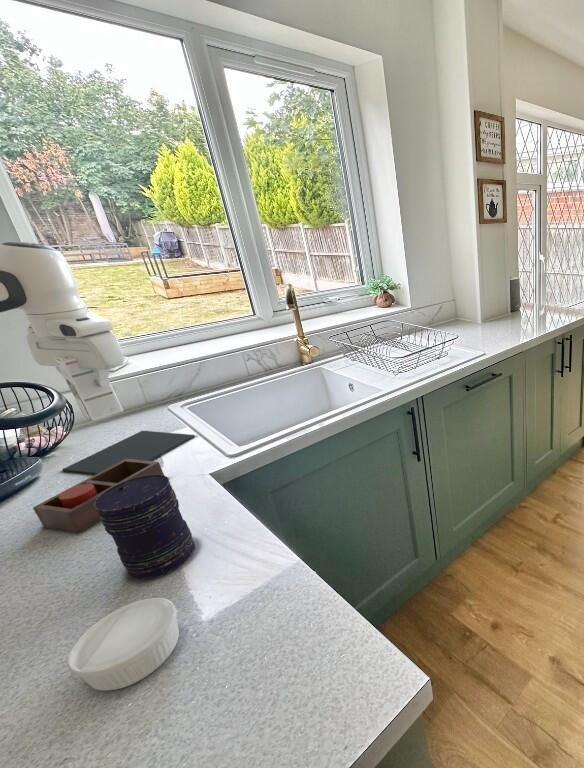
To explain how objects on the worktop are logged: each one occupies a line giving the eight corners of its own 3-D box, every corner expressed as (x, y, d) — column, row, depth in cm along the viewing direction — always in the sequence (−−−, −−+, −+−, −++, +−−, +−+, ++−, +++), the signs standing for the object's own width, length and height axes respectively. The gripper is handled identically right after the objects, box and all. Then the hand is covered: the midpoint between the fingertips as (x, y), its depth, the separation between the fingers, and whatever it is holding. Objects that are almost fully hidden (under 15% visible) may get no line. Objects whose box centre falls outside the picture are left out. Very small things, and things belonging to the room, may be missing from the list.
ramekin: (83, 657, 58) (67, 632, 56) (180, 608, 66) (168, 583, 64) (84, 721, 51) (65, 693, 49) (193, 657, 58) (180, 631, 56)
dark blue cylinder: (209, 544, 78) (183, 478, 73) (155, 586, 70) (121, 515, 64) (170, 535, 81) (142, 470, 75) (113, 574, 72) (77, 505, 66)
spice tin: (64, 521, 85) (51, 497, 83) (92, 505, 90) (80, 482, 88) (84, 524, 84) (71, 500, 82) (111, 507, 89) (100, 484, 87)
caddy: (43, 527, 84) (32, 507, 82) (133, 476, 100) (125, 458, 98) (80, 532, 82) (69, 512, 80) (166, 479, 98) (158, 461, 97)
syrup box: (124, 411, 95) (98, 351, 90) (91, 422, 91) (60, 360, 85) (115, 406, 98) (89, 348, 92) (82, 416, 93) (52, 356, 88)
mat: (63, 471, 103) (62, 469, 103) (142, 432, 121) (142, 430, 121) (121, 477, 100) (120, 475, 99) (194, 436, 118) (194, 435, 118)
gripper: (6, 326, 85) (36, 387, 91) (83, 329, 81) (110, 393, 87) (43, 319, 91) (70, 377, 96) (117, 321, 87) (141, 382, 92)
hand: (90, 385), depth 91 cm, fingers closed on syrup box, 6 cm apart
